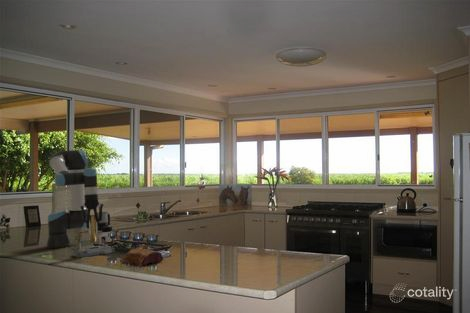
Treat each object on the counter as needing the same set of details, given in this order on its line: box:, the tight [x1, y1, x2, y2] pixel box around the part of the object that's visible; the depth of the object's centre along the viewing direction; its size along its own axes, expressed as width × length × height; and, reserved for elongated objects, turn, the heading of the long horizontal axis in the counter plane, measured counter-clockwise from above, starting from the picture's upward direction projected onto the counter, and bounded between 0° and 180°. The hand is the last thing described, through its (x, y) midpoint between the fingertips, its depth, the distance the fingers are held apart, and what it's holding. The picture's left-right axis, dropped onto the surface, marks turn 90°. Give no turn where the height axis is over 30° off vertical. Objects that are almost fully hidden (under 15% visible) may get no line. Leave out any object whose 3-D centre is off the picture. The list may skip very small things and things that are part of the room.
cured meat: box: [123, 248, 164, 267], centre depth 241 cm, size 18×25×7 cm
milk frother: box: [97, 211, 111, 231], centre depth 386 cm, size 14×16×15 cm
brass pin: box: [89, 214, 97, 243], centre depth 270 cm, size 3×3×16 cm
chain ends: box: [72, 245, 116, 259], centre depth 269 cm, size 10×22×4 cm, turn 121°
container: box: [98, 225, 117, 245], centre depth 296 cm, size 8×8×13 cm
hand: (93, 233), depth 270 cm, fingers closed on brass pin, 3 cm apart
